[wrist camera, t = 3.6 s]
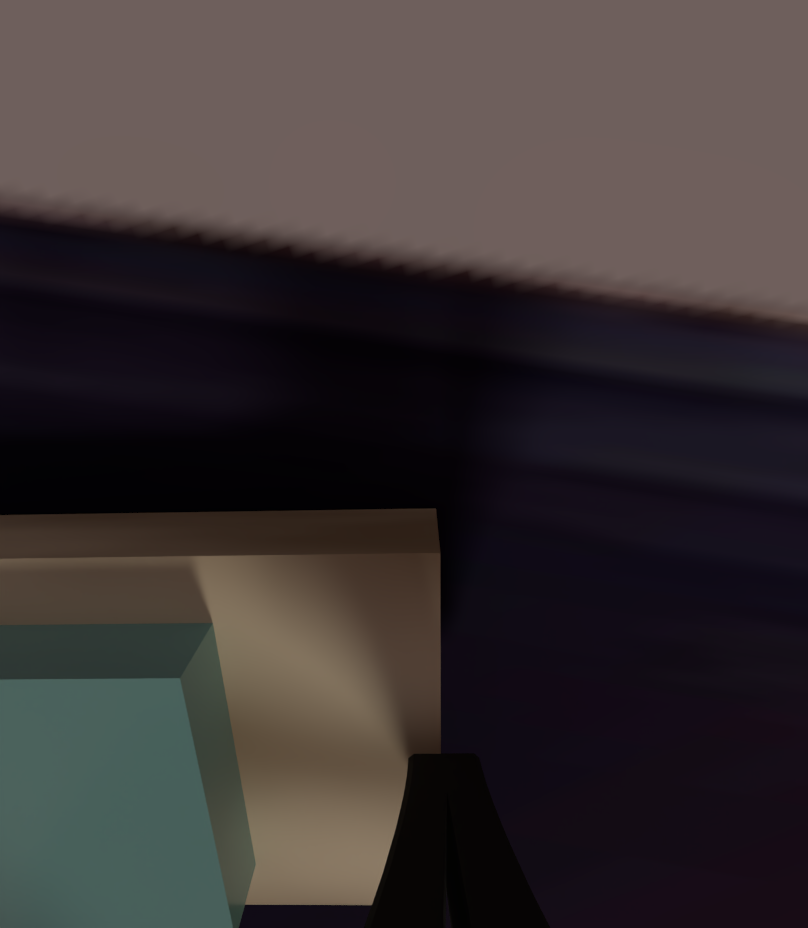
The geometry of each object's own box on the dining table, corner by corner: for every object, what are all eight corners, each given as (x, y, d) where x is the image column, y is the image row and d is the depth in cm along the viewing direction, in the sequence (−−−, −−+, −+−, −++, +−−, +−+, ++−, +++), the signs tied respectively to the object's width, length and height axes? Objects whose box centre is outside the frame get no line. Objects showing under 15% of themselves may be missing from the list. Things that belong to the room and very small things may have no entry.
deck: (437, 825, 15) (441, 905, 13) (-104, 825, 15) (-178, 902, 13) (435, 508, 11) (440, 552, 9) (-257, 518, 12) (-387, 564, 10)
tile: (256, 864, 12) (235, 938, 11) (-26, 864, 13) (-82, 937, 11) (212, 622, 10) (180, 678, 9) (-132, 626, 10) (-219, 681, 9)
